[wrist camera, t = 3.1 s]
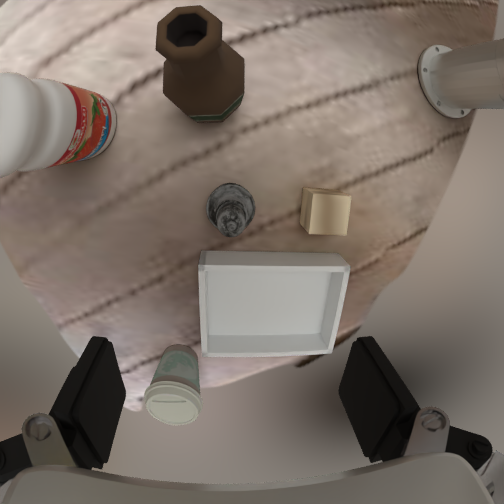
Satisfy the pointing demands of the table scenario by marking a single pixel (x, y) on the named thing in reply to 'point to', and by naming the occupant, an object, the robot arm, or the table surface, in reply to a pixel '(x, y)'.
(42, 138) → the fruit juice
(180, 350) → the coffee cup
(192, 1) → the table surface
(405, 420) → the robot arm
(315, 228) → the beech cube
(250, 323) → the tote
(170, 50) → the beer bottle
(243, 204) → the chess piece
